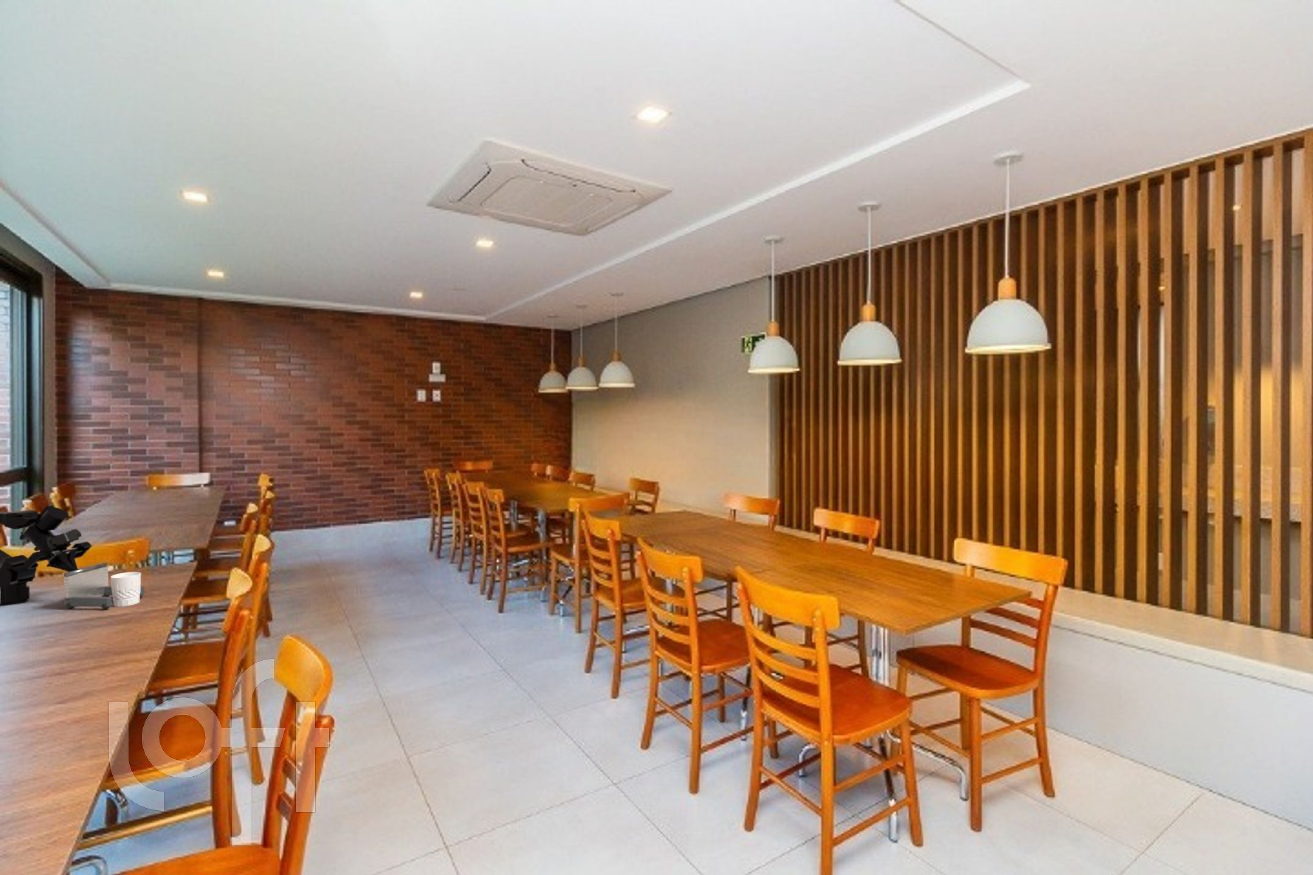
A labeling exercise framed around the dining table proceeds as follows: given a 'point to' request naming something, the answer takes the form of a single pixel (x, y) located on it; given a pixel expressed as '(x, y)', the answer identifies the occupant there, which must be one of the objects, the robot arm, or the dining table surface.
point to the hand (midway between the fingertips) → (76, 572)
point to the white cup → (126, 588)
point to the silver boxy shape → (89, 587)
